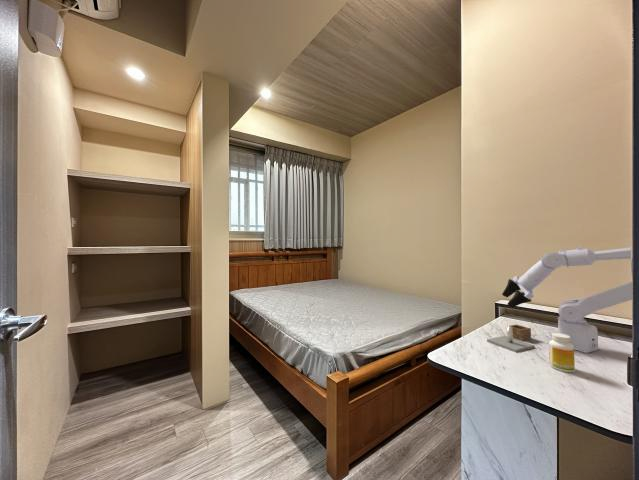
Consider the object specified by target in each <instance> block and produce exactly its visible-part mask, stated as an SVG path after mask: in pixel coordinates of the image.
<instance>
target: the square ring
mask: <svg viewBox="0 0 639 480" xmlns="http://www.w3.org/2000/svg"><path fill="white" fill-rule="evenodd" d="M508 326H509V325H507V327H508ZM510 326H511V327H512V329H513V338H514V339H517V340H520V341H523V342H525V341H528V340H531V339H532V328H530V327H526V326H523V325H520V324H512V325H510ZM507 327H506V328H507Z"/></svg>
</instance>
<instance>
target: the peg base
mask: <svg viewBox="0 0 639 480" xmlns="http://www.w3.org/2000/svg"><path fill="white" fill-rule="evenodd" d="M507 326H508V327H506V335H501V336H498V337H497V336H496V337H493V338H488V339H486V342H487V343H490V344H492V345H495V346H499V347H501V348H503V349H506V350H509V351H511V352H514V353H518V352H523V351H526V350H530V349H534V348H535V347H536V346H535V344H531V343H529V342H526V341H521V340H518V339H515V338H513V329H512V327H511V325H507Z"/></svg>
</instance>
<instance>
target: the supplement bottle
mask: <svg viewBox="0 0 639 480" xmlns="http://www.w3.org/2000/svg"><path fill="white" fill-rule="evenodd" d="M551 338H552V339H551V340H550V341H549V342H548V351H549V352H548V353H549V354H548V355H549V357H548V361H549V366H550V367H551V368H553V369H555V370H557V371H560V372H564V373H573V372H575V371H576V367H575V349H574V346H573V345H572V344H571V343H569V342H571V339H570V336H568V335H565V334H560V333H558V332H553V333H551Z"/></svg>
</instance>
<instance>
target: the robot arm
mask: <svg viewBox="0 0 639 480" xmlns="http://www.w3.org/2000/svg"><path fill="white" fill-rule="evenodd" d="M629 259H630V260H632V259H631V247H624V248H615V249H607V250H605V249H604V250H598V251H597V250H596V251H593V250H592V249H589V248H583V247H581V246H580V247H577V248H576V249H570V250H569V249H567V250H563V249H559V250H558V251H551V252H547V253H545V254H544V255H543V256H542V259H539V260H538V261H537V262H536V263H535V264H534V265H532V266H531V267H530V268H529V269H528V270H526V272H524V274H523V275H521V276H520V277H519V276H518V275H515V276H514V277H512V279H511V278H509V279H508V281H507V284H506V286H505V289H504V290H503V292H502V293H501V294H502V296H503V297H505V298H508V297H510V296H512V295H513V296H512V298H511V299H510V300H509V301H508V302H507V306H508V307H510V308H515V307H518V306H520V305H522V304H524V303H526V304H527V303H531V302H532V298H534V296H535V295H534V294H533V290H535V289H536V288H537V287H538V286H540V284H542V282H544V280H546V279H547V278H548V277H549V276H550V275H552V273H553V272H554V271H555V270H556V269H558V268H560V267H562V266H565V267H566V268H567V267H580V266H592V265H593V264H594V263H595V262H597V261H611V260H629ZM631 300H632V281H629V282H626V283H624V284H621V285H617V286H615V287H612V288H609V289H607V290H603V291H600V292H598V293H594V294H592V295H589V296H585V297H581V298H578V299H577V298H576V299H566V300H564V301H562V302H561V304H560V306H559V307H558V310H557V311H558V312H557V313H558V315H559V316H558V317H557V321H558V322H557V326H558V327H557V331H558V332H557V333H560V334H565V335H568V336H570V339H571V342H569V343H571V344H572V345H573V346H574V351H578V352H582V353H585V354H588V353H592V352H595V351H598V350H600V347H599V331H598V328H597V327H596V326H595V325H593V324H590V323H588V322H587V319H585V318H584V317H588V316H589V315H593V314H594V313H595V312H597V311H601V310H603V309H606V308H609V307H612V306H616V305H619V304H622V303H626V302H629V301H631Z"/></svg>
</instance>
